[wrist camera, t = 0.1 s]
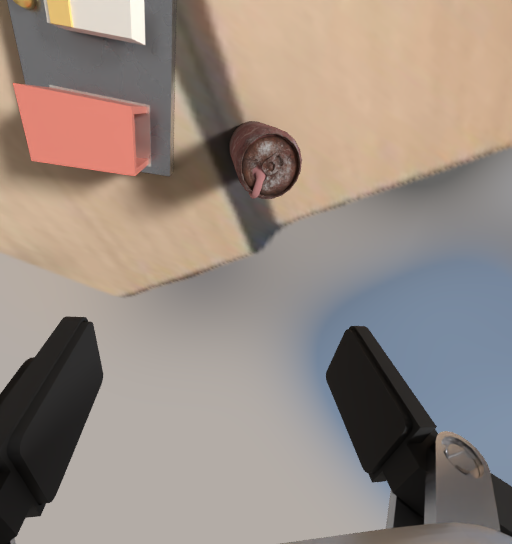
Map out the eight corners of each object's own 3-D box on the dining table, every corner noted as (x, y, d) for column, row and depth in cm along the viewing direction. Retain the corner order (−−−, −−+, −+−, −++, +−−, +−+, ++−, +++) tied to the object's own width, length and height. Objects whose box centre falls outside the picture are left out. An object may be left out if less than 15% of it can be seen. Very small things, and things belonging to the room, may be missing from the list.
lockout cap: (52, 87, 27) (12, 82, 21) (146, 106, 28) (131, 106, 23) (64, 151, 30) (31, 160, 24) (148, 164, 31) (135, 176, 26)
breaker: (59, -19, 23) (36, -32, 21) (144, -4, 22) (127, -16, 20) (66, 30, 24) (45, 22, 23) (145, 45, 24) (130, 38, 22)
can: (222, 164, 35) (227, 192, 24) (237, 113, 33) (250, 116, 21) (263, 179, 37) (286, 212, 26) (281, 132, 34) (316, 144, 23)
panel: (-15, -206, 20) (-65, -274, 16) (178, -131, 23) (172, -175, 19) (54, 152, 32) (35, 158, 29) (173, 171, 35) (168, 178, 32)
